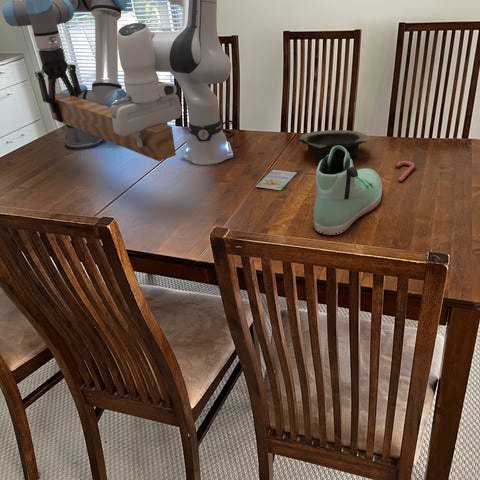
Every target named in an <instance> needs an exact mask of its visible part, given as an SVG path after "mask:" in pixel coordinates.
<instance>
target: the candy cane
mask: <svg viewBox="0 0 480 480" xmlns="http://www.w3.org/2000/svg"><path fill="white" fill-rule="evenodd" d="M402 166H409V167H408V168H407V169H406V170H405V171H404V172H403V173H402V174H401V175H400V176H399V177H398V178H397V181H398V182H400V183H402V182H403V181H404V180H405V179H406V177H408V175H410V173H412V172H413V171H414V169H415V168H416V164H415V163H414V162H412V161H409V160H402V161H398V162H397V163H396V164H395V167H396V168H397V169H399V168H400V167H402Z"/></svg>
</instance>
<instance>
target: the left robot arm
mask: <svg viewBox="0 0 480 480" xmlns="http://www.w3.org/2000/svg"><path fill="white" fill-rule="evenodd" d="M127 1H128V0H16V1H15V0H11V1H7V2H4V4H3V5H2V16H3V19H4V21H5V22H6V23H7V24H8V26H10V27H26V26H27V27H28V26H31V28H32V32H33V37H34V40H35V44H36V48H37V50H38V55H39V59H40V62H41V69H40V70H39V71H35V72H34V75H35V77H36V78H37V80H38V85H39V89H40V94H41V98H42V102H43V103H47V104H49V103H50V106H51V109H52V112H53V113H55V115H56V118H57V120H56V122H58V123H62V122H63V120H62V117H61V113H60V109H59V105H58V103H57V102H55V94H56V83H57V80H58V79H61V81H62V83H63V84H64V87H65V88H66V89H63V90H61V91H60V92H59V93H61V92H62V93H65V94H68V95H71V96H74V97H78V98H81V99H84V100H87V101H91V102H94V103H97V104H100V105H103V106H107V107H110V106H111V104H112V103H113V102H114V101H115V100H117V99H122V98H124V97H127V94H126V89H123V86H122V84H121V83H120V82H119V64H118V63H119V60H118V59H119V57H118V56H119V51H118V21H119V20H120V19H121V18H122V11H125V10H127V6H128V2H127ZM77 12H78V13H90V15H91V16H92V17H93V18H94V38H95V39H94V42H95V44H94V46H95V47H94V49H95V51H94V53H95V80H94V81H93V82H92V83H91V89H88V87H87V85H85V84H80V82H79V79H78V75H77V65H76V64H73V63H67V61H66V58H65V57H66V56H65V52H64V49H63V48H62V41H61V37H60V33H59V29H58V26H59V25H62V24H66V23H68V22H70V21H71V20H73V18H74V16H75V15H74V14H75V13H77ZM67 71H68V73H69V76H68V75H67ZM45 75H46V76H47V82H48V87H47V83H46V79H45ZM69 77H70V79H69ZM70 80H71V81H70ZM114 105H115V104H114ZM65 126H66V133H65V136H64V138H65V139H64V140H65V144H66V148H68V149H70V150H85V149H92V148H94V147H97V146H99V145H102V143H104V139H102V138H99V137H97V136H94V135H92V134H89V133H87V132H84V131H82V130H79V129H77V128H74V127H72V126H69V125H67V124H65Z"/></svg>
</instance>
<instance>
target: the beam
mask: <svg viewBox="0 0 480 480" xmlns="http://www.w3.org/2000/svg"><path fill="white" fill-rule="evenodd" d="M60 92H61V91H60ZM60 92H57V93H55V102H57V103H58V105H59V109H60V113H61V117H62V120H63V122H61V123H62V124H65V125H66V124H67V125H69V126H72V127H74V128H77V129H79V130H82V131H84V132H87V133H89V134H92V135H94V136H97V137H99V138H102V139H103V141H106V142H109V143H112V144H114V145H116V146H120V147H122V148H124V149H127V150H130V151H132V152H135V153H137V154H140V155H142V156H145V157H147V158H150V159H153V160H154V161H158V162H162V161H164V160H167V159H169V158H172V157H175V156H177V153H176V145H175V140H174V134H173V127H172V126H171V125H165V124H162V123H161V124H158V125H155V126H152V127H149V128H146V129H144V130H143V131H140V135H139V137H140V139H142V140H145V146H143V147H138V145H137V140H135V138H134V137H133V136H132V134H131V135H128V136H125V137H121V136H119V135H117V134H116V133H115V132H114V130H113V122H112V115H111V110H110V107H107V106H103V105H100V104H97V103H94V102H91V101H87V100H84V99H81V98H78V97H74V96H71V95H68V94H65V93H62V92H61V93H60ZM48 107H49V110H50V114H51V118H52V120H54V121H57V118H56V115H55V113H53V112H52V109H51V106H50V103H48Z"/></svg>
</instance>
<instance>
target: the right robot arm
mask: <svg viewBox="0 0 480 480" xmlns="http://www.w3.org/2000/svg"><path fill="white" fill-rule="evenodd" d="M166 1H167V2H169V3H171V4H174V5H176V6H179V7H181V8H182V19H181V21H182V22H181V28H180V29H179V30H178V31H176V32H175V31H174V32H154V31H152V30H151V31H150V30H149V26H148V25H147V24H145V23H143V22H133V23H129V24H125V25H123V26H121V27H120V28H119V29H118V30H117V41H118V56H119V57H118V59H119V63H120V67H121V69H122V71H123V84H124V90H125V92H126V94H127V97H124V98H122V99H117V100H115V101H114V102H113V103H112V104H111V106H110V110H111V115H112V122H113V130H114V132H115V133H116V134H117V135H119V136H121V137H125V136H128V135H131V134H132V136H133V137H134V138H135V140H137V145H138V147H143V146H145V140H142V139H140V137H139V135H140V131H143V130H144V129H146V128H149V127H152V126H155V125H158V124H161V123H162V124H165V125H168V123H169V122H172V121H175V120H177V119H178V120H179V119H180V118H181V117H182V105H181V102H180V98H179V96H178V94H176V93H177V92H178V91H177V86H176V85H175V84H171V83H168V82H163V81H160V79H159V76H158V73H157V72H159V73H170V74H171V75H172V76H173V78H174V79H175V80H176V82H177V83H178V85H179V87H180V89H181V91H182V93H183V96H184V99H185V103H186V108H187V115H188V123H187V124H188V132H189V134H188V135H187V137H186V141H185V142H186V149H185V151H186V154H184V155H183V160H185V161H188V162H190V163H192V164H194V165H200V166H201V165H202V166H203V165H204V166H205V165H206V166H208V165H215V164H219V163H222V162H224V161H226V160H228V159H233V158H234V157H235V156H234V152H233V148H232V145H231V143H230V141H227V139H229V138H231V137H232V136H233V131H231V130H229V129H224V128H223V126H224V125H225V124H227V123H231V124H234V121H233V120H231V119H230V120H225V121H223V122H222V119H221V117H220V107H219V99H218V96H217V95H216V94H215V93H214V92H213V91H212V90H211V88H210V86H209V85H216V84H222V83H225V82H226V81H227V80H228V79H229V77H230V75H231V71H232V63H231V59H230V57H229V55H228V54H227V53H226V52H225V51H224V48H223V47H222V45H221V44H222V43H221V42H220V39H219V34H218V28H217V26H218V25H217V24H218V23H217V22H218V19H217V18H218V17H217V16H218V14H217V13H218V0H166ZM114 104H115V105H114ZM168 126H169V125H168ZM225 132H226V133H230V134H229V135H227V136H226V134H225Z"/></svg>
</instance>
